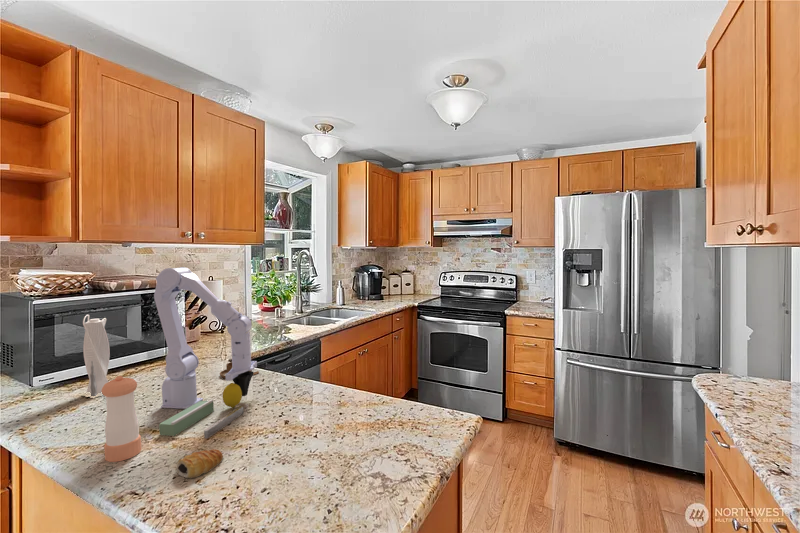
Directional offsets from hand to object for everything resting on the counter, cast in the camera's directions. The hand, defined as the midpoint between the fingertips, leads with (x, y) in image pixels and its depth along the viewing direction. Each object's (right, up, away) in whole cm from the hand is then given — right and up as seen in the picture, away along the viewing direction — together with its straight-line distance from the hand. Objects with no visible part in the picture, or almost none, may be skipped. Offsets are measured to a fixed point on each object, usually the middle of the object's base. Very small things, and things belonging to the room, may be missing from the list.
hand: (243, 395), depth 127 cm
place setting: (-13, -2, +33) cm, 35 cm away
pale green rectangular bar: (-10, -3, -15) cm, 18 cm away
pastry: (+6, -4, -39) cm, 40 cm away
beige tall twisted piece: (-56, -3, +11) cm, 57 cm away
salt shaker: (-16, -4, -32) cm, 36 cm away
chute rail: (+2, -3, -17) cm, 18 cm away
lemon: (-1, -2, -5) cm, 6 cm away
